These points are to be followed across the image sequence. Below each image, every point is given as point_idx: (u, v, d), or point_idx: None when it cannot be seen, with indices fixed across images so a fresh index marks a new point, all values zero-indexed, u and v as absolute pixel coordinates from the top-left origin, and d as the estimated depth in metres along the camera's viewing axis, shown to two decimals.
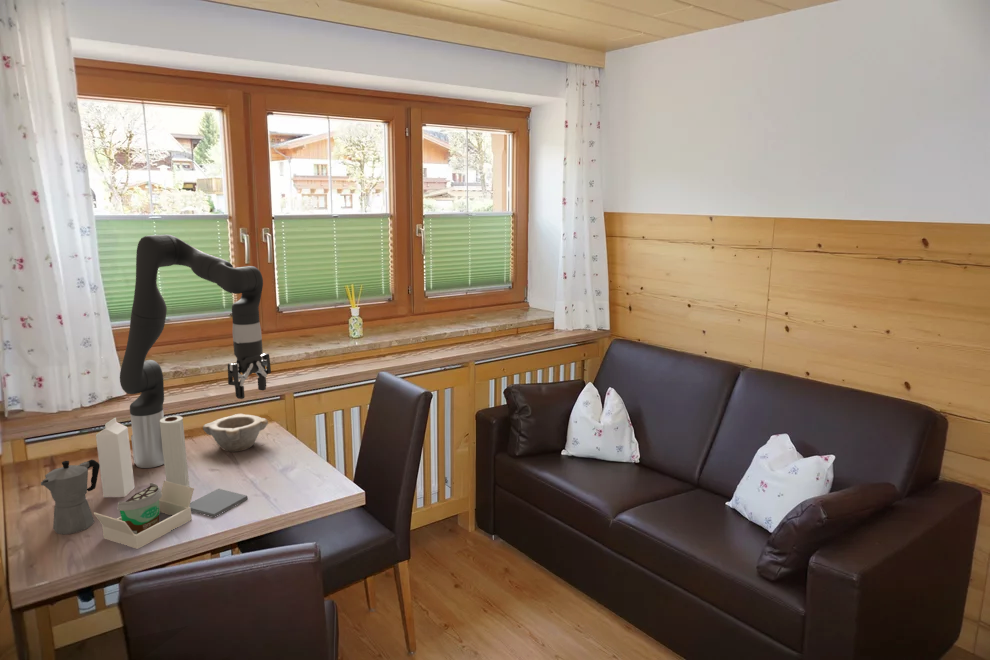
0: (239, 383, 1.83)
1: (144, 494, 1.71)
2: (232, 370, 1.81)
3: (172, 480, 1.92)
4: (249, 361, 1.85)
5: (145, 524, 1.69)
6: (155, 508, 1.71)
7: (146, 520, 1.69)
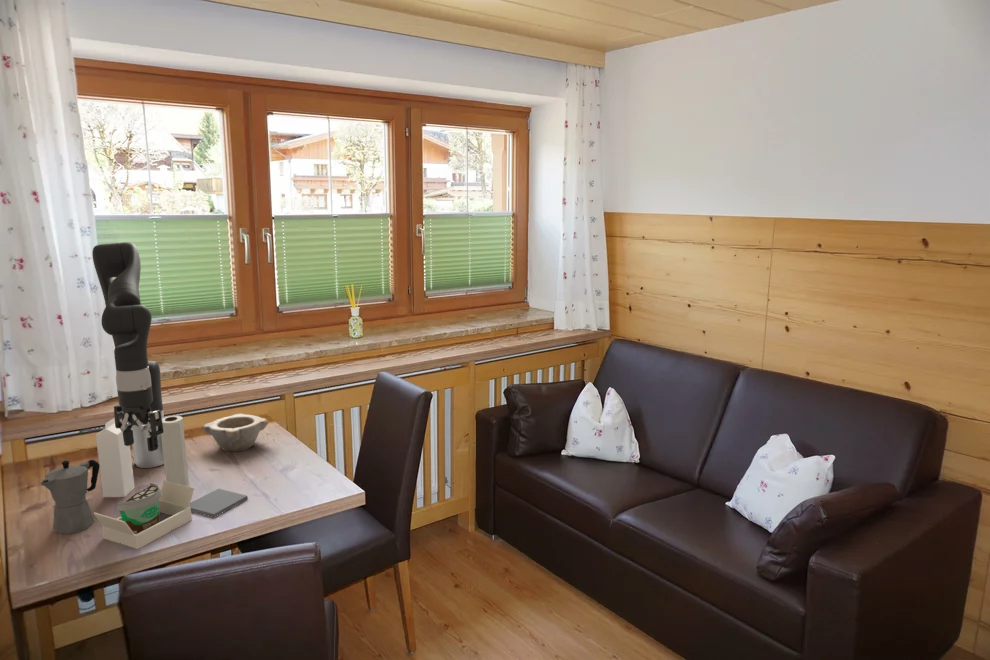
0: None
1: (144, 494, 1.71)
2: (158, 417, 1.63)
3: (172, 480, 1.92)
4: None
5: (145, 524, 1.69)
6: (155, 508, 1.71)
7: (146, 520, 1.69)
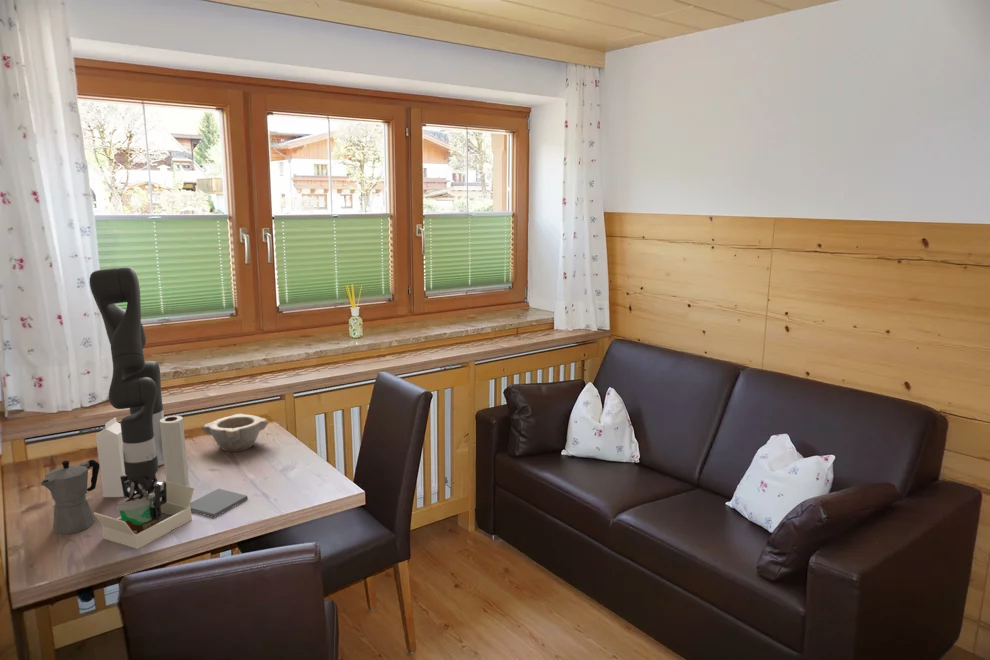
0: None
1: None
2: (163, 489, 1.67)
3: (172, 480, 1.92)
4: None
5: (145, 523, 1.69)
6: None
7: (146, 520, 1.69)
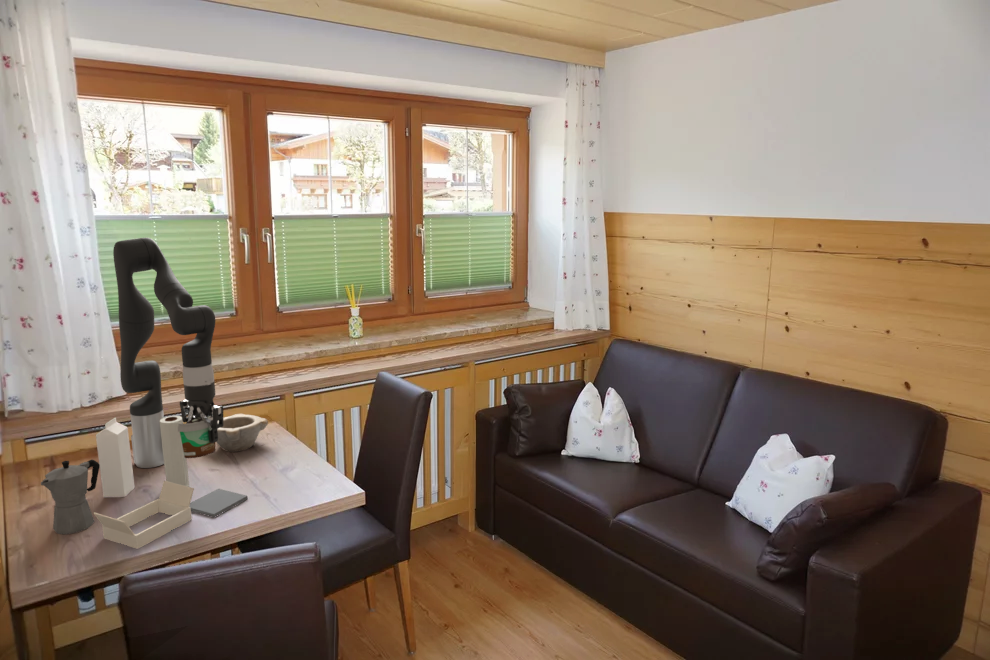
0: None
1: None
2: (220, 413, 1.76)
3: (172, 480, 1.92)
4: None
5: (203, 446, 1.78)
6: None
7: (204, 442, 1.78)
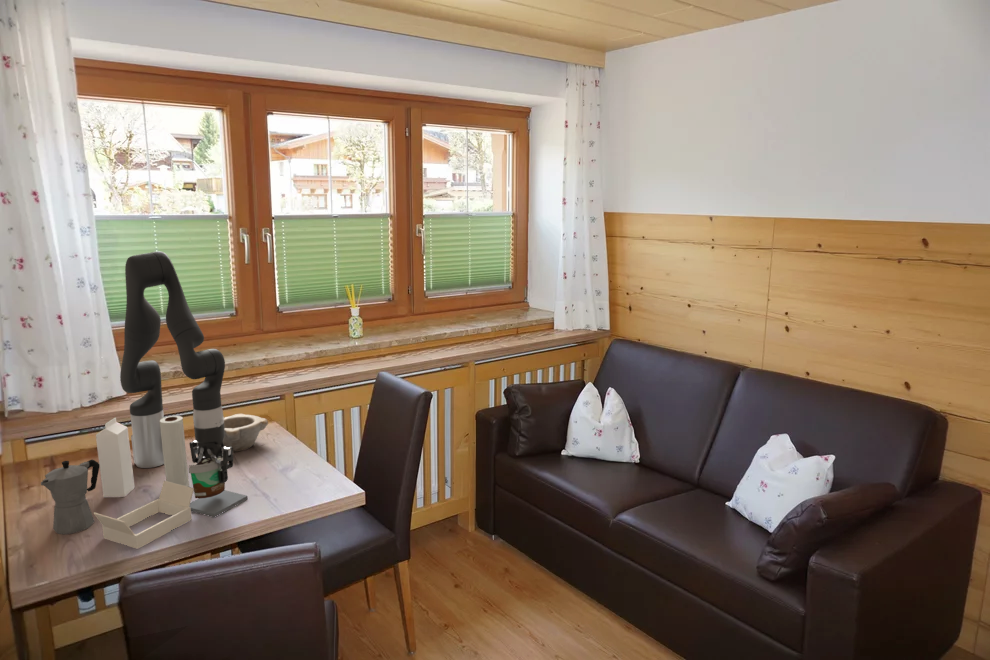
0: None
1: (211, 459, 1.83)
2: (230, 454, 1.80)
3: (172, 480, 1.92)
4: None
5: (213, 486, 1.81)
6: None
7: (214, 483, 1.81)
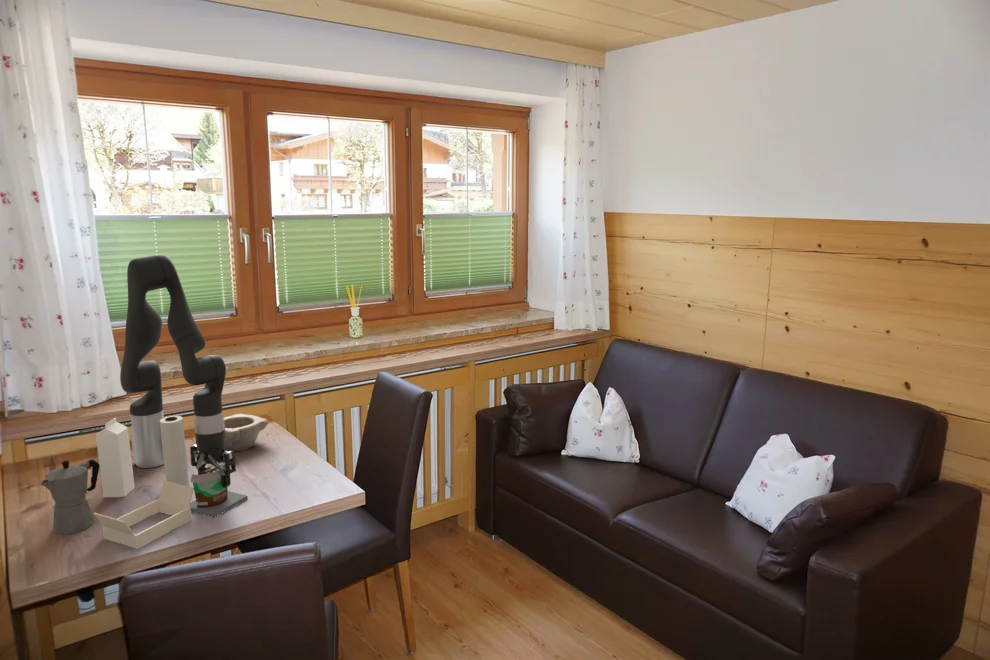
0: None
1: (214, 469, 1.84)
2: (231, 457, 1.80)
3: (172, 480, 1.92)
4: None
5: (215, 496, 1.82)
6: None
7: (216, 492, 1.82)
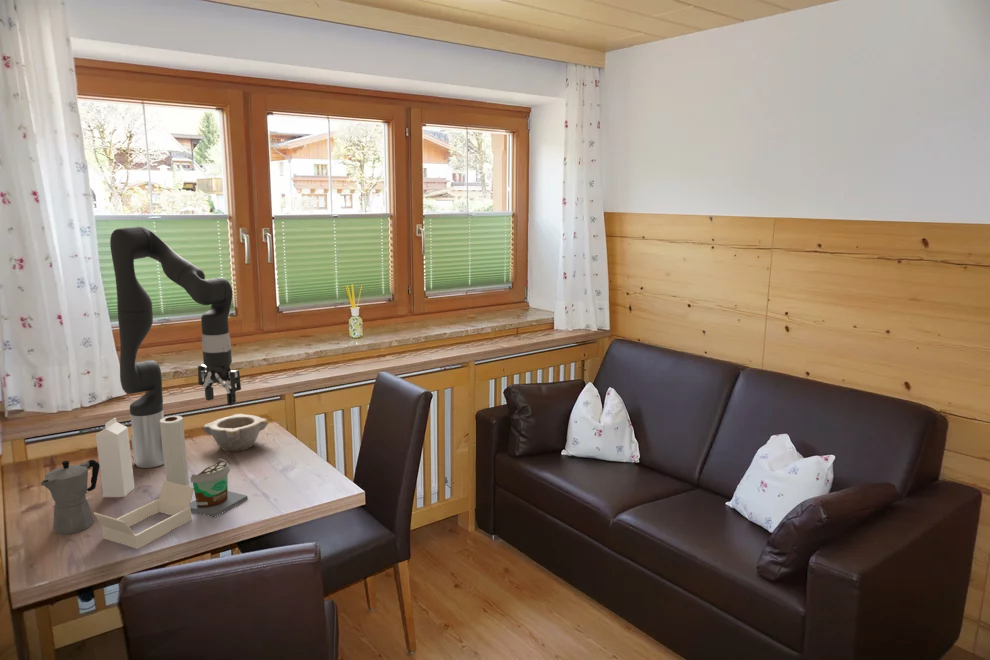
0: None
1: (214, 469, 1.84)
2: (237, 376, 1.89)
3: (172, 480, 1.92)
4: None
5: (215, 496, 1.82)
6: (224, 482, 1.84)
7: (216, 493, 1.82)
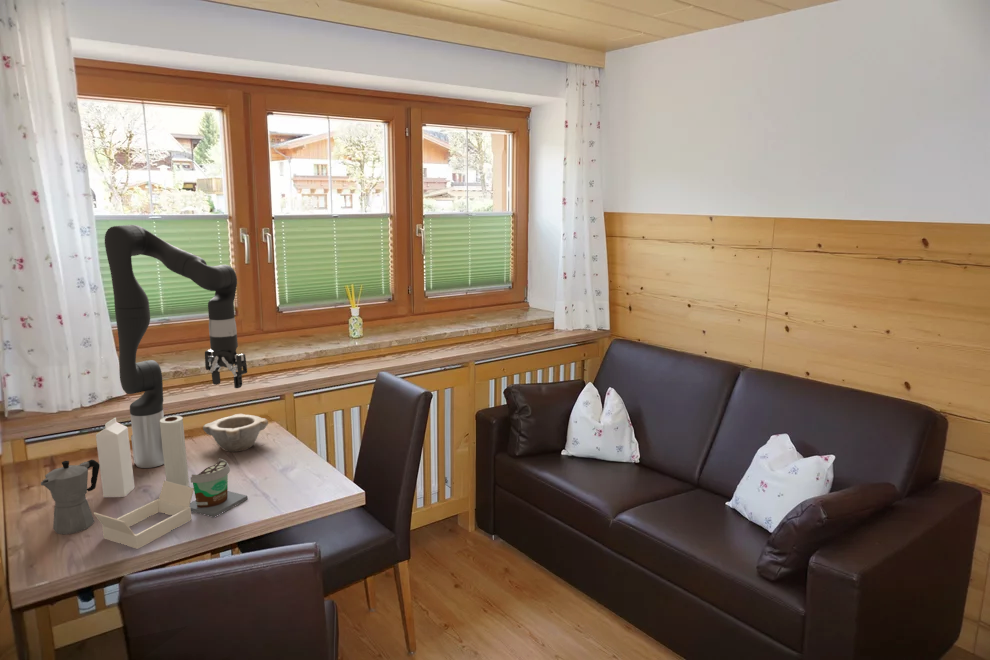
0: None
1: (214, 469, 1.84)
2: (243, 359, 1.96)
3: (172, 480, 1.92)
4: None
5: (215, 496, 1.82)
6: (224, 482, 1.84)
7: (216, 493, 1.82)
